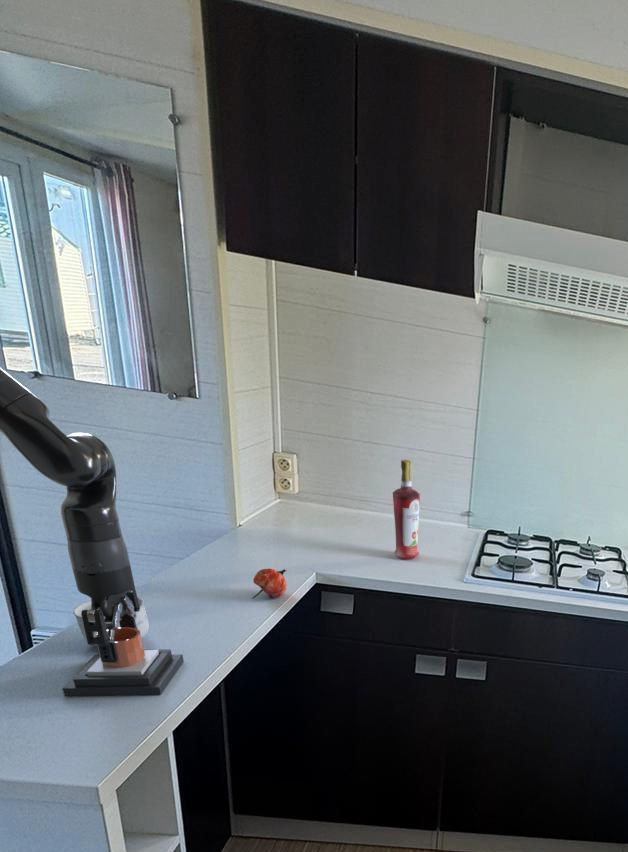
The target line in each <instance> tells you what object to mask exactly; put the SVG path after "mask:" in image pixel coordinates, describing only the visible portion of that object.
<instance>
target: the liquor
mask: <svg viewBox="0 0 628 852" xmlns="http://www.w3.org/2000/svg"><path fill="white" fill-rule="evenodd" d="M400 468H401V478H400V479H401V481H400V487H399V488H397V489H395V490H394V491H393V492H392V504H393V506H392V507H393V518H394V532H395V534H394V535H395V551H394V554H395V556H396V557H398V558H399V559H400V560H406V561H409V560H413V559H415V558H416V557H417V556H419V554H420V552H419V550H418V539H419V538H418V537H419V517H420V502H421V501H420V500H421V499H420V498H421V494H420V493H419V491H417V490H416V489H413V485H412V476H411V469H412V460H409V459H401V460H400Z"/></svg>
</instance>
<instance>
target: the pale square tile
mask: <svg viewBox="0 0 628 852" xmlns="http://www.w3.org/2000/svg"><path fill="white" fill-rule="evenodd" d="M144 652H145V657H144V658H143V659H142V661H140V662H139V663H137V664H135V665H132V666H128V667H121V668H114V667H109V666H107V665H105V664H103V663H102V662H101V659H100V658H99V659H98V660H97V661H96V662H95V663H94V664H93V665H92V667H91V668H90V669H89V670H88V671H87V676H134V675H144V674H145V673H146V671H147V670H148V669H149V668H150V666H151V665H152V664H153V662H154V661H155V660H156V659H157V657H158V656H159V651H158V650H144Z"/></svg>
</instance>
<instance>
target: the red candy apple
mask: <svg viewBox="0 0 628 852" xmlns="http://www.w3.org/2000/svg"><path fill="white" fill-rule="evenodd" d="M286 572H287V569H286V568H284V569H282V570H276V569H273V568H263V569H259V571H257V573H256V574H255V575H254V577H253V579H252V580H253V581H252V582H253V583H254V584H255V585H256V586H258V587H259V588H260V591H258V592H257V593H256V594H254V596H252V597H251V600H254V599H255V598H256V597H257V596H259V595H260V594H261V593H262V592H264V593H265V594H266V595H268V596H269V597H270V598H271V599H278V598H280V597H281V596H283V595H284V594H285V593H286V590H287V587H288V582H287V580H286V578H285V576H284V574H285V573H286Z"/></svg>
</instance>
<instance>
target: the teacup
mask: <svg viewBox="0 0 628 852" xmlns="http://www.w3.org/2000/svg"><path fill="white" fill-rule="evenodd" d="M137 598H138V602H139V606H140V610H139V612H136V615H137V617H136V619H135V622H136V626H137V629H138V630H139V631H140V633H141V638H142V639H143V638H144V637H145V636H146V635H147V633H148V632H149V627H150V625H149V618H148V615H147V611H146V608H145V601H144V599H142V598H141V597H138V596H137ZM129 601H130V602H131V604H132V605H133V603H132V601H131V600H129ZM90 609H91V599H90V600H87V601H85V602H83V603H81V604H79V605H77V606H76V607H75V608H74V609H73V615H74V616H75V618H76V621H77V624H78V627H79V630H80V632H81V634H82V636H83V638H84V640H85V641H86V642H87V638H86V633H85V628H84V624H83V619H82V615H81V612H82V610H90ZM119 620H120V619H119ZM110 623H112V622H105V624H110ZM119 628H120V623H119ZM106 630H108V629H106ZM93 636H94V632H93ZM94 646H95V647H97V645H94Z"/></svg>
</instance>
